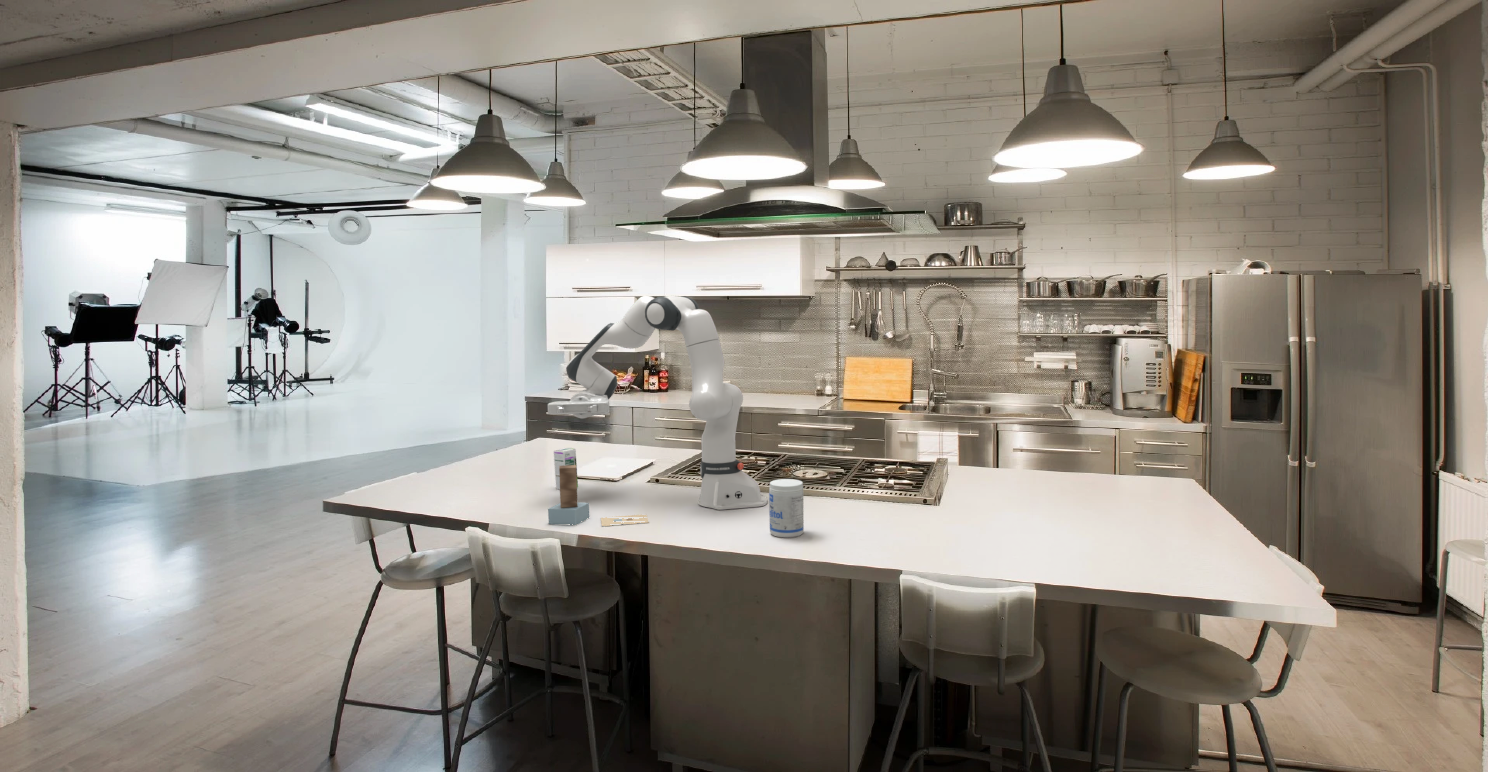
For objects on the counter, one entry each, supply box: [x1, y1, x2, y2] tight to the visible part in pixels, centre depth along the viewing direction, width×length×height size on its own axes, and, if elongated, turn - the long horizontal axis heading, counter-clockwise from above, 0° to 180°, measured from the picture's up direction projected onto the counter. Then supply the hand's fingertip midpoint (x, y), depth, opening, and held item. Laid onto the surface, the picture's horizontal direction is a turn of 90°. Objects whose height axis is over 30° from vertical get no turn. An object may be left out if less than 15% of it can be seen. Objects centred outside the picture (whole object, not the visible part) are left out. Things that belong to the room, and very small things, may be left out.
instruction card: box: [600, 514, 650, 527], centre depth 243 cm, size 14×10×1 cm
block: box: [559, 465, 578, 508], centre depth 243 cm, size 5×5×12 cm
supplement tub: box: [768, 478, 805, 539], centre depth 223 cm, size 10×10×15 cm
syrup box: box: [553, 447, 579, 491], centre depth 289 cm, size 6×6×14 cm
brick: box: [547, 501, 590, 526], centre depth 244 cm, size 9×9×5 cm
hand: (575, 410), depth 258 cm, fingers open, 8 cm apart
